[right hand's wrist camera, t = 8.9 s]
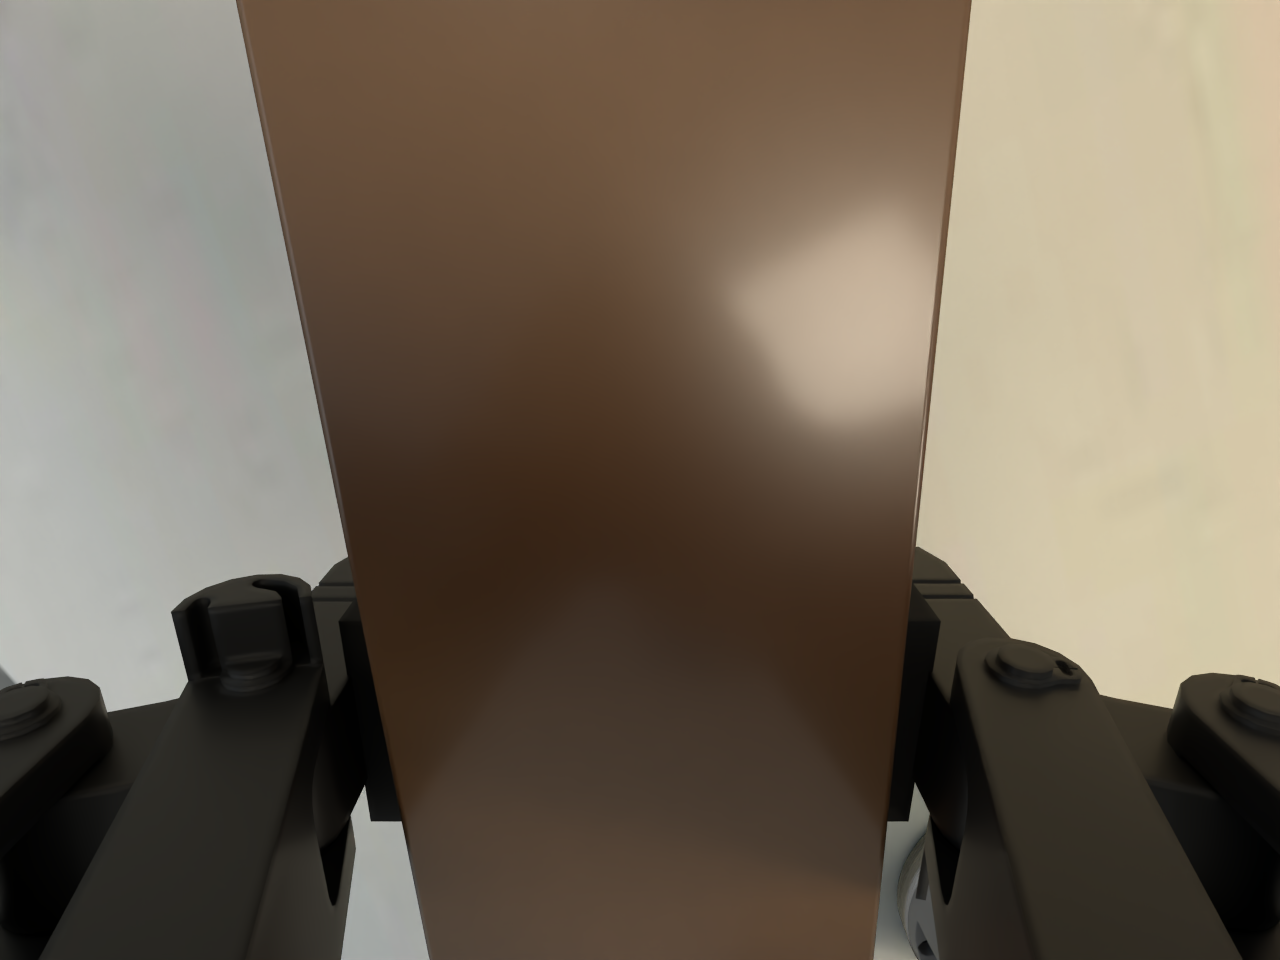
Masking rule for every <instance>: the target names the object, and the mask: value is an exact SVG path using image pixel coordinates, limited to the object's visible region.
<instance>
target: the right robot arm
mask: <svg viewBox="0 0 1280 960" xmlns="http://www.w3.org/2000/svg"><path fill="white" fill-rule="evenodd" d="M171 614H172V618H173V622H174V626H175V630H176V634H177V638H178V642H179V646H180V650H181V654H182V657H183V661H184V665H185V669H186V673H187V677H188V683H187V685H186V686H185V688H184V690H183V692H182V694H181V696H180V698H178V699H174V700H170V701H166V702H160V703H155V704H150V705H144V706H139V707H134V708H128V709H123V710H118V711H112V712H107V710H106V707H105V704H104V700H103V697H102V694H101V690H100V687H98V686H97V685H96V684H94V683H93V682H92V681H90V680H89V679H83V678H76V677H68V676H67V677H58V678H49V679H36V680H31V681H26V682H25V684H22V683H19V684H15V685H12V686H9V687H6V688H4V689H2V690H0V960H341V954H342V947H343V939H344V932H345V925H346V917H347V910H348V903H349V895H350V888H351V880H352V873H353V866H354V858H355V851H356V846H355V839H354V832H353V826H352V821H351V813H352V811H353V809H354V806H355V804H356V802H357V800H358V798H359V796H360V794H361V792H362V790H363V788H364V785H365V788H366V794H367V800H368V806H369V812H370V819H371V821H402V820H401V815H400V810H399V805H398V800H397V795H396V790H395V785H394V780H393V775H392V771H391V766H390V761H389V756H388V751H387V746H386V741H385V736H384V731H383V726H382V721H381V716H380V711H379V706H378V701H377V696H376V691H375V686H374V681H373V676H372V671H371V667H370V662H369V657H368V652H367V647H366V642H365V637H364V632H363V627H362V622H361V617H360V612H359V607H358V602H357V597H356V592H355V587H354V582H353V577H352V572H351V568H350V563H349V558H348V557H347V558H345V559H344V560H342V561H340V562H338V563H337V564H335V565H334V566H333V567H332V568H331V569H330V571H329V572H328V573H327V574H326V575H325V576H324V578H323V579H322V580H321V581H320V582H319V586H316V587H315V588H314V589H313V590H312V592H311V586H310V585H309V584H308V583H306V582H305V581H303V580H302V579H301V578H298V577H293V576H288V575H283V574H267V575H253V576H247V577H242V578H236V579H231V580H228V581H225V582H222V583H219V584H216V585H213V586H210V587H207V588H205V589H203V590H201V591H199V592H197V593H195V594H193V595H191V596H190V597H188V598H186V599H184V600H183V601H182V602H181V603H180V604H179V605H178V606H177V607H176V608H175V609H174V610H172V611H171ZM915 783H916V785H917V787H918V789H919V791H920V794H921V796H922V798H923V800H924V802H925V804H926V806H927V808H928V810H929V812H930V815H929V821H928V826H927V832H926V834H925V835H924V836H923V837H922V838H921V839H920V840H919V842H918V843H917V844H916V846H915V847H914V848H913V850H912V851H911V853H910V854H909V856H908V858H907V860H906V862H905V864H904V866H903V869H902V871H901V874H900V878H899V882H898V889H897V904H898V910H899V914H900V917H901V920H902V923H903V926H904V929H905V931H906V934H907V937H908V940H909V942H910V945H911V948H912V950H913V952H914V954H915V956H916V957H917V959H918V960H1280V686H1278V685H1276V684H1274V683H1271V682H1268V681H1264V680H1261V679H1258V680H1255V678H1253V677H1248V676H1243V675H1228V674H1219V673H1207V674H1200V675H1192V676H1191V677H1189V678H1188V679H1186V680H1185V681H1184V682H1182V683H1181V684H1180V688H1179V691H1178V694H1177V697H1176V701H1175V704H1174V707H1173V709H1170V708H1165V707H1159V706H1154V705H1148V704H1143V703H1138V702H1132V701H1127V700H1122V699H1116V698H1112V697H1107V696H1103V695H1100V694H1099V693H1098V691H1097V689H1096V687H1095V685H1094V683H1093V681H1092V680H1091V679H1090V677H1089V676H1088V675H1087V674H1086V673H1085V672H1084V671H1083V669H1082V668H1081V667H1080V666H1079V665H1077V664H1076V663H1074V662H1073V661H1071V660H1069V659H1068V658H1066V657H1065V656H1063V655H1062V654H1060V653H1058V652H1055V651H1053V650H1050V649H1048V648H1045V647H1043V646H1040V645H1038V644H1035V643H1031V642H1026V641H1021V640H1017V639H1012V638H1010V637H1009V636H1008V635H1007V633H1006V632H1005V631H1004V630H1003V629H1002V628H1001V626H1000V625H999V624H998V623H997V622H996V621H995V619H994V618H993V617H992V616H991V615H990V614H989V612H988V611H987V610H986V609H985V608H984V607H983V606H982V604H981V603H980V602H979V601H978V600H977V599H974V598H973V594H972V593H971V592H970V590H969V589H968V588H967V587H966V586H965V585H964V584H961V580H960V579H959V578H958V577H957V575H956V574H955V573H954V572H953V571H952V570H951V568H950V567H949V566H948V565H947V564H946V563H945V562H944V561H942V560H940V559H939V558H937V557H935V556H933V555H932V554H930V553H928V552H926V551H925V550H923V549H921V548H919V547H916V548H915V557H914V567H913V577H912V587H911V596H910V606H909V616H908V626H907V635H906V645H905V655H904V665H903V674H902V684H901V694H900V704H899V713H898V723H897V733H896V743H895V752H894V762H893V772H892V782H891V791H890V801H889V811H888V820H887V821H909V815H910V808H911V802H912V796H913V790H914V784H915Z"/></svg>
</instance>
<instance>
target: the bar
mask: <svg viewBox="0 0 1280 960" xmlns="http://www.w3.org/2000/svg"><path fill="white" fill-rule="evenodd" d="M971 2H972V0H236V3H237V8H238V13H239V18H240V23H241V28H242V33H243V38H244V43H245V48H246V53H247V57H248V62H249V67H250V72H251V77H252V82H253V87H254V92H255V97H256V102H257V107H258V112H259V117H260V122H261V127H262V132H263V137H264V142H265V147H266V152H267V157H268V161H269V166H270V171H271V176H272V181H273V186H274V191H275V196H276V201H277V206H278V211H279V216H280V221H281V226H282V231H283V236H284V241H285V246H286V251H287V256H288V261H289V265H290V270H291V275H292V280H293V285H294V290H295V295H296V300H297V305H298V310H299V315H300V320H301V325H302V330H303V335H304V340H305V345H306V350H307V355H308V360H309V364H310V369H311V374H312V379H313V384H314V389H315V394H316V399H317V404H318V409H319V414H320V419H321V424H322V429H323V434H324V439H325V444H326V449H327V454H328V459H329V464H330V468H331V473H332V478H333V483H334V488H335V493H336V498H337V503H338V508H339V513H340V518H341V523H342V528H343V533H344V538H345V543H346V548H347V553H348V558H349V563H350V568H351V572H352V577H353V582H354V587H355V592H356V597H357V602H358V607H359V612H360V617H361V622H362V627H363V632H364V637H365V642H366V647H367V652H368V657H369V662H370V667H371V671H372V676H373V681H374V686H375V691H376V696H377V701H378V706H379V711H380V716H381V721H382V726H383V731H384V736H385V741H386V746H387V751H388V756H389V761H390V766H391V771H392V775H393V780H394V785H395V790H396V795H397V800H398V805H399V810H400V815H401V820H402V825H403V830H404V835H405V840H406V845H407V850H408V855H409V860H410V865H411V870H412V875H413V879H414V884H415V889H416V894H417V899H418V904H419V909H420V914H421V919H422V924H423V929H424V934H425V939H426V944H427V949H428V954H429V959H430V960H873V957H874V947H875V937H876V928H877V918H878V908H879V898H880V889H881V879H882V869H883V859H884V850H885V840H886V830H887V820H888V811H889V801H890V791H891V782H892V772H893V762H894V752H895V743H896V733H897V723H898V713H899V704H900V694H901V684H902V674H903V665H904V655H905V645H906V635H907V626H908V616H909V606H910V596H911V587H912V577H913V567H914V557H915V548H916V538H917V528H918V518H919V509H920V499H921V489H922V480H923V470H924V460H925V450H926V441H927V431H928V421H929V411H930V402H931V392H932V382H933V372H934V363H935V353H936V343H937V333H938V324H939V314H940V304H941V294H942V285H943V275H944V265H945V255H946V246H947V236H948V226H949V216H950V207H951V197H952V187H953V178H954V168H955V158H956V148H957V139H958V129H959V119H960V109H961V100H962V90H963V80H964V70H965V61H966V51H967V41H968V31H969V22H970V12H971Z"/></svg>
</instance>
